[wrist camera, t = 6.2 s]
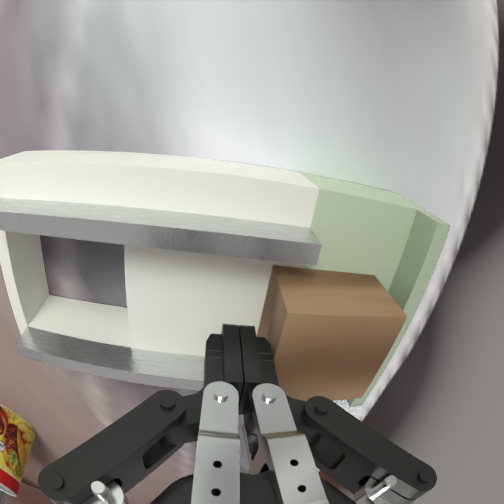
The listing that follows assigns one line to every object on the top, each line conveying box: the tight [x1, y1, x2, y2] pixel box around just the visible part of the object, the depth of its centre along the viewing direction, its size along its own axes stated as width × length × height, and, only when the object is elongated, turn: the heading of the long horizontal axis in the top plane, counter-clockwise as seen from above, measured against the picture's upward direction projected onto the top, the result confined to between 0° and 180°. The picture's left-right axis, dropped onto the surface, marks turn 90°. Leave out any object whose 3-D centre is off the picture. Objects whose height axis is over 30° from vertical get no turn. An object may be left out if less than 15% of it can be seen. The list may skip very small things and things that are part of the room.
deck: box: [0, 150, 450, 407], centre depth 17 cm, size 14×25×6 cm, turn 81°
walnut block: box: [256, 265, 407, 402], centre depth 15 cm, size 6×6×4 cm
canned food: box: [0, 405, 36, 497], centre depth 23 cm, size 8×8×12 cm
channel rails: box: [0, 198, 322, 391], centre depth 15 cm, size 10×17×2 cm, turn 81°
